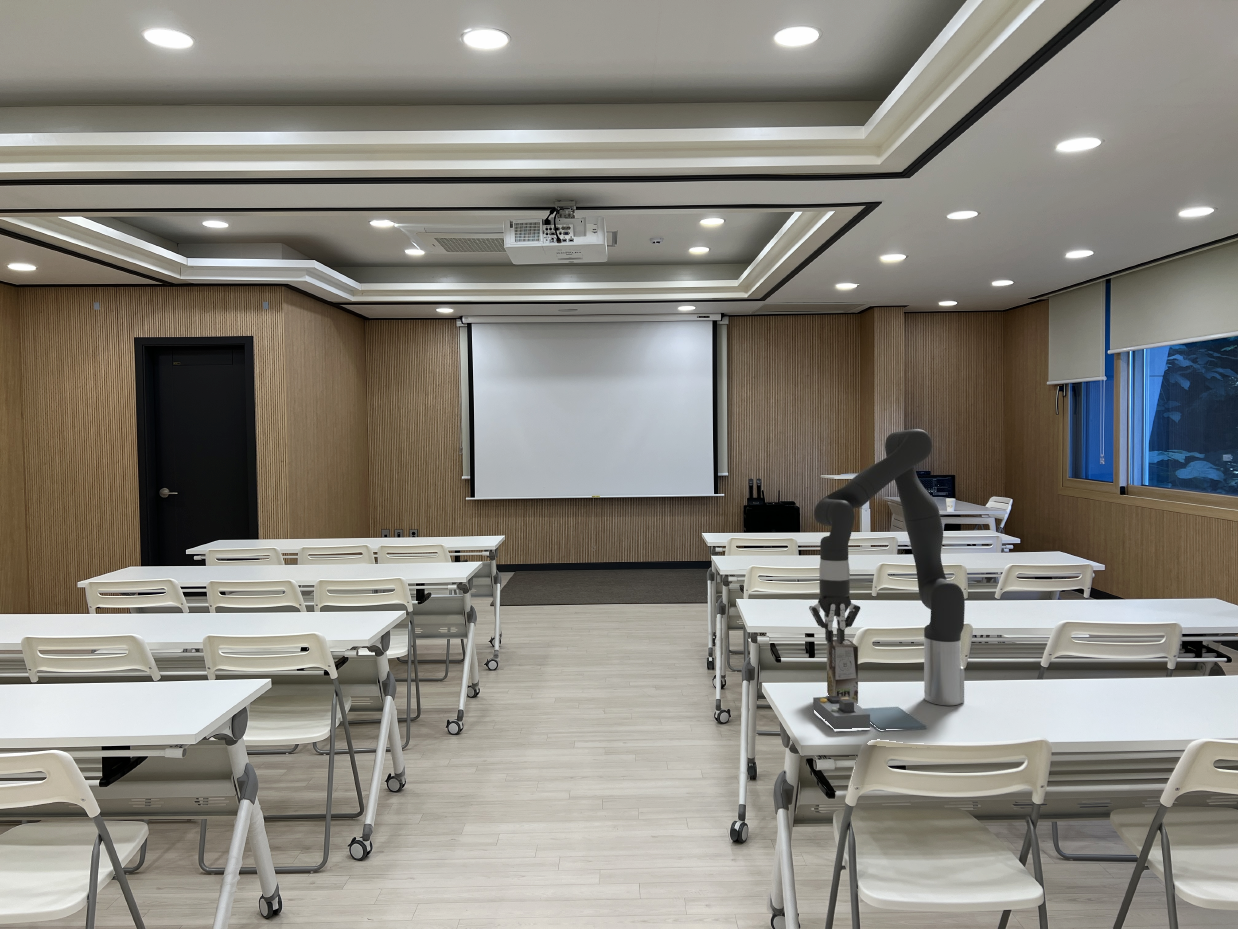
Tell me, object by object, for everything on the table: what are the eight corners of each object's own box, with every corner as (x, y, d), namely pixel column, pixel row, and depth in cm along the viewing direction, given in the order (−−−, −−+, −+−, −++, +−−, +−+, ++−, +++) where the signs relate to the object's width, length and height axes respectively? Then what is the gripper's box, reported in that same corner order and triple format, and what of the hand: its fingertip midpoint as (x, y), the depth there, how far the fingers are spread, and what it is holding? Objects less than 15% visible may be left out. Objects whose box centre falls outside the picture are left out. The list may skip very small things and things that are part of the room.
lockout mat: (898, 709, 197) (898, 706, 197) (926, 728, 183) (926, 725, 183) (854, 712, 196) (854, 708, 196) (879, 731, 182) (879, 728, 182)
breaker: (839, 710, 187) (839, 699, 187) (849, 709, 187) (848, 698, 187) (844, 714, 184) (844, 702, 184) (854, 713, 184) (854, 702, 184)
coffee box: (859, 706, 200) (858, 646, 200) (835, 706, 200) (834, 646, 200) (849, 695, 209) (849, 638, 209) (826, 695, 209) (826, 638, 209)
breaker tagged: (828, 707, 194) (827, 696, 194) (837, 706, 194) (837, 695, 194) (832, 710, 191) (832, 700, 191) (842, 710, 191) (842, 699, 191)
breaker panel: (813, 712, 195) (813, 695, 195) (846, 711, 197) (845, 693, 196) (835, 732, 182) (835, 713, 181) (870, 730, 183) (870, 711, 183)
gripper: (853, 573, 197) (854, 639, 197) (803, 575, 195) (803, 641, 195) (866, 578, 189) (866, 646, 189) (814, 580, 188) (814, 648, 188)
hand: (834, 643), depth 192 cm, fingers closed
